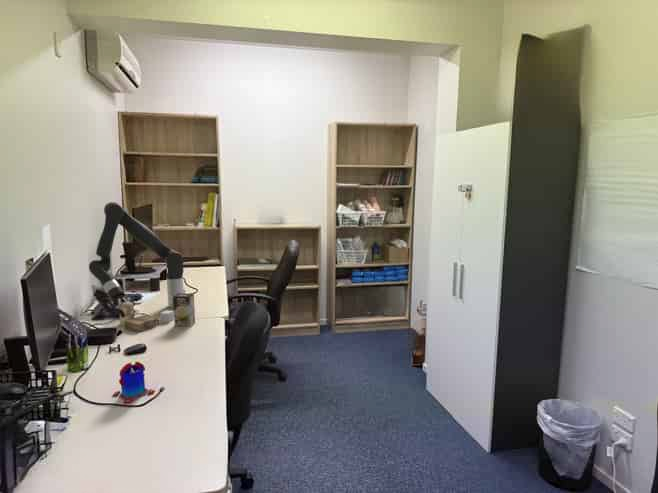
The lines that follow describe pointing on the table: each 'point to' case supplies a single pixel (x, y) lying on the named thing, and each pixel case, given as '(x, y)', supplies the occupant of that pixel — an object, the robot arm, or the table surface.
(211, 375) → the table surface
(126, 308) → the oak block
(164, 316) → the grey block
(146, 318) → the walnut block
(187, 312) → the coffee box
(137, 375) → the fantasy tower
